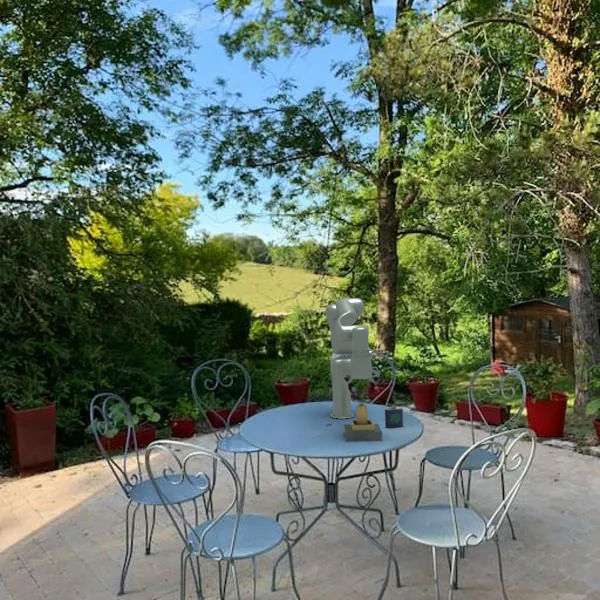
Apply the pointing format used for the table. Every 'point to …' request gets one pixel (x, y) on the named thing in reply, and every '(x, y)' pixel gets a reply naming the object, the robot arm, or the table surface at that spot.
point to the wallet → (393, 417)
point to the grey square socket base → (362, 432)
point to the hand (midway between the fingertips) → (361, 391)
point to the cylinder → (361, 414)
